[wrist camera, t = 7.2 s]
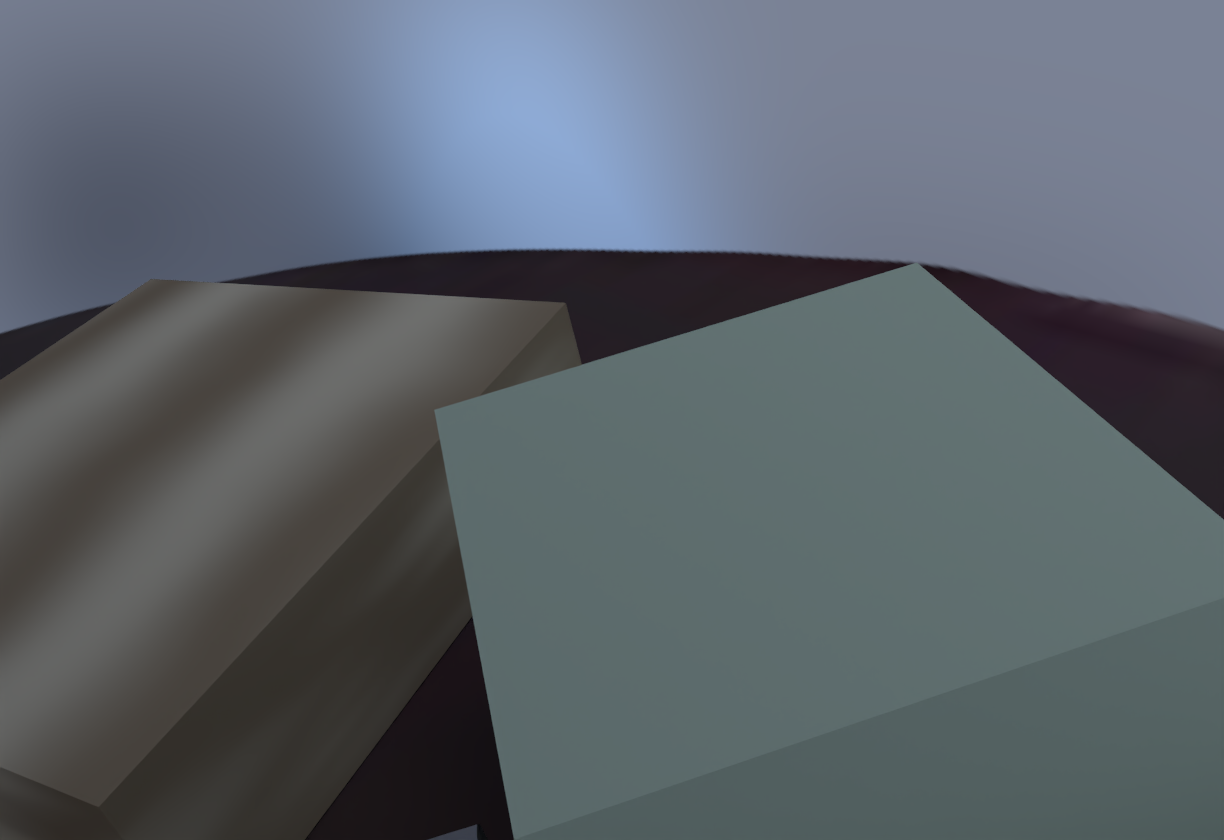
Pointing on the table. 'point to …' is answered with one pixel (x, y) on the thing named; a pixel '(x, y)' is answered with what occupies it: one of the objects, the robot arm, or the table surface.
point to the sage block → (837, 589)
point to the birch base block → (232, 548)
